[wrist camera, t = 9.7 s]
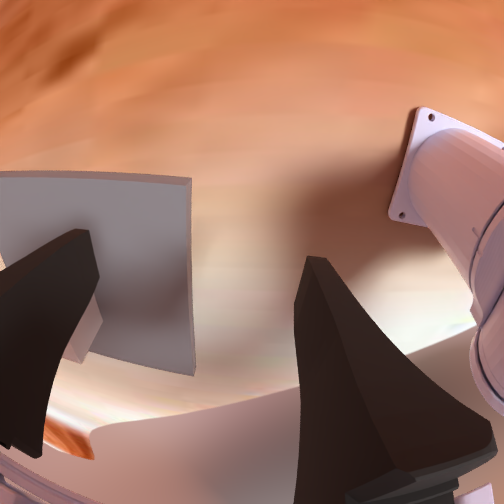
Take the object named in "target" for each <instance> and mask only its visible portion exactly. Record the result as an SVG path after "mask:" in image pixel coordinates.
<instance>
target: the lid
mask: <svg viewBox="0 0 504 504" xmlns="http://www.w3.org/2000/svg"><path fill="white" fill-rule="evenodd" d="M191 191H192V178H188V177H176V176H164V175H151V174H135V173H117V172H93V171H0V253H1V256H2V258H3V261H4V263H5V266H6V268H7V267H8V266H10V265H12V264H13V263H15V262H17V261H18V260H20V259H22V258H23V257H25V256H27V255H28V254H30V253H32V252H33V251H35V250H36V249H38V248H40V247H41V246H43V245H45V244H46V243H48V242H50V241H51V240H53V239H55V238H57V237H59V236H60V235H62V234H64V233H66V232H68V231H70V230H73V229H75V228H76V229H85V230H89V231H90V236H91V241H92V246H93V250H94V255H95V259H96V263H97V267H98V271H99V275H100V278H99V281H98V283H97V286H96V289H95V291H94V293H93V296H92V298H91V301H90V303H89V305H88V306H87V308H86V310H85V312H84V314H83V316H82V318H81V320H80V321H79V323H78V325H77V327H76V329H75V331H74V333H73V335H72V337H71V338H70V340H69V342H68V344H67V346H66V348H65V351H64V353H63V355H62V357H63V358H65V359H68V360H71V361H74V362H77V363H80V364H82V362H83V360H84V358H85V356H86V354H87V352H88V351H90V352H94V353H97V354H100V355H104V356H107V357H111V358H115V359H118V360H122V361H126V362H130V363H134V364H138V365H142V366H146V367H151V368H155V369H160V370H164V371H169V372H174V373H179V374H184V375H190V376H194V373H195V369H196V358H195V342H194V323H193V300H192V263H191Z"/></svg>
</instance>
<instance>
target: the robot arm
mask: <svg viewBox="0 0 504 504" xmlns="http://www.w3.org/2000/svg"><path fill="white" fill-rule="evenodd" d="M429 114H432V119H431V120H429V119H428V116H429ZM502 148H503V150H502ZM401 212H404V213H403V215H402V216H399V214H400V213H401ZM388 216H389V217H390V219H391V220H394V221H399V222H404V223H409V224H413V225H418V226H423V227H428V228H429V229H430V230H431V232H432V233H433V234H434V236H435V237H436V238H437V240H438V241H439V243H440V244H441V246H442V247H443V248H444V250H445V251H446V253H447V254H448V256H449V257H450V259H451V260H452V262H453V263H454V265H455V266H456V268H457V269H458V271H459V272H460V274H461V276H462V277H463V279H464V280H465V282H466V284H467V285H468V287H469V289H470V290H471V292H472V293H473V297H474V298H473V304H472V306H471V309H470V312H471V314H472V316H473V318H474V320H475V321H476V323H477V325H478V327H479V329H478V330H477V331H476V333H475V335H474V337H473V339H472V342H471V347H470V366H471V371H472V374H473V378H474V380H475V382H476V385H477V387H478V389H479V391H480V392H481V394H482V396H483V397H484V399H485V400H486V401H487V403H488V404H489V405H490V406H491V407H492V408H493V409H494V410H495V411H497V412H498V413H499V414H501V415H502V416H504V143H503V142H501V141H499V140H497V139H495V138H493V137H491V136H490V135H488V134H486V133H484V132H482V131H480V130H478V129H475V128H473V127H471V126H469V125H467V124H465V123H463V122H460V121H458V120H456V119H454V118H451V117H449V116H447V115H444V114H442V113H439V112H437V111H434V110H432V109H429V108H426V107H419V108H418V109H417V111H416V114H415V119H414V123H413V127H412V131H411V135H410V139H409V143H408V147H407V150H406V154H405V158H404V161H403V165H402V168H401V172H400V175H399V178H398V182H397V185H396V188H395V191H394V194H393V197H392V200H391V203H390V206H389V209H388ZM99 278H100V275H99V271H98V267H97V263H96V259H95V255H94V250H93V246H92V241H91V236H90V231H89V230H85V229H76V228H75V229H73V230H70V231H68V232H66V233H64V234H62V235H60V236H59V237H57V238H55V239H53V240H51V241H50V242H48V243H46V244H45V245H43V246H41V247H40V248H38V249H36V250H35V251H33V252H32V253H30V254H28V255H27V256H25V257H23V258H22V259H20V260H18V261H17V262H15V263H13V264H12V265H10V266H8V267H7V268H5V269H4V270H2V271H0V445H2V446H3V447H5V448H6V449H8V450H9V449H10V447H11V446H13V447H15V448H17V449H18V450H20V451H22V452H23V453H25V454H27V455H29V456H30V457H32V458H39V457H41V456H42V445H43V432H44V424H45V417H46V411H47V406H48V401H49V397H50V393H51V389H52V385H53V381H54V378H55V375H56V372H57V369H58V366H59V363H60V360H61V358H62V355H63V353H64V351H65V348H66V346H67V344H68V342H69V340H70V338H71V337H72V335H73V333H74V331H75V329H76V327H77V325H78V323H79V321H80V320H81V318H82V316H83V314H84V312H85V310H86V308H87V306H88V305H89V303H90V301H91V298H92V296H93V293H94V291H95V289H96V286H97V283H98V281H99ZM294 337H295V346H296V356H297V365H298V374H299V384H300V398H301V416H300V418H301V419H300V421H301V422H300V442H299V459H298V469H297V480H296V488H295V496H294V503H293V504H494V498H493V492H492V486H491V483H487V484H484V485H482V486H480V487H478V488H476V489H474V490H471V491H469V492H467V493H465V494H462V495H460V496H458V497H455V498H454V496H453V491H454V490H456V489H458V487H459V483H458V477H460V476H462V475H464V474H466V473H468V472H470V471H472V470H473V469H475V468H477V467H479V466H481V465H482V464H484V463H486V462H487V461H489V460H490V459H492V458H493V457H494V456H496V454H497V452H498V449H497V445H496V442H495V438H494V434H493V430H492V427H491V424H490V421H488V420H487V419H485V418H483V417H482V416H480V415H479V414H477V413H476V412H474V411H473V410H471V409H470V408H468V407H466V406H465V405H463V404H462V403H460V402H459V401H458V400H456V399H455V398H454V397H452V396H451V395H450V394H448V393H447V392H446V391H445V390H443V389H442V388H441V387H439V386H438V385H437V384H436V383H435V382H433V381H432V380H431V379H430V378H429V377H427V376H426V375H425V374H424V373H423V372H422V371H421V370H420V369H419V368H418V367H416V366H415V365H414V364H413V363H412V362H411V361H410V360H409V359H408V358H407V357H406V356H405V355H404V354H403V353H402V352H401V351H400V350H399V349H398V348H397V347H396V346H395V345H394V344H393V343H392V342H391V341H390V339H389V338H388V337H387V336H386V335H385V334H384V333H383V332H382V331H381V329H380V328H379V327H378V326H377V325H376V323H375V322H374V321H373V320H372V319H371V317H370V316H369V315H368V314H367V312H366V311H365V310H364V309H363V307H362V306H361V305H360V303H359V302H358V301H357V300H356V298H355V297H354V296H353V294H352V293H351V292H350V290H349V289H348V287H347V286H346V285H345V283H344V282H343V280H342V279H341V278H340V276H339V275H338V274H337V272H336V271H335V269H334V268H333V267H332V265H331V264H330V262H329V261H328V260H327V258H321V257H313V256H307V258H306V262H305V266H304V270H303V273H302V277H301V281H300V284H299V288H298V292H297V295H296V299H295V302H294ZM3 475H4V476H5V477H7V478H8V479H10V480H11V481H13V482H14V483H16V484H18V485H19V486H21V487H22V488H24V489H26V490H27V491H29V492H31V493H32V494H34V495H36V496H38V497H40V498H42V499H43V500H45V501H47V502H49V503H51V504H103V503H100V502H97V501H95V500H92V499H89V498H87V497H84V496H82V495H80V494H77V493H75V492H73V491H70V490H68V489H66V488H64V487H62V486H59V485H57V484H55V483H53V482H51V481H49V480H47V479H45V478H43V477H41V476H40V475H38V474H36V473H34V472H32V471H30V470H29V469H27V468H25V467H23V466H22V465H20V464H18V463H17V462H15V461H14V460H12V459H10V458H9V457H7V456H6V455H4V454H2V453H1V452H0V504H46V503H44V502H43V501H42V500H40V499H38V498H37V497H35V496H33V495H31V494H29V493H27V492H25V491H23V490H21V489H19V488H17V487H15V486H13V485H11V484H9V483H7V482H6V481H5V480H4V476H3Z"/></svg>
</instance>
